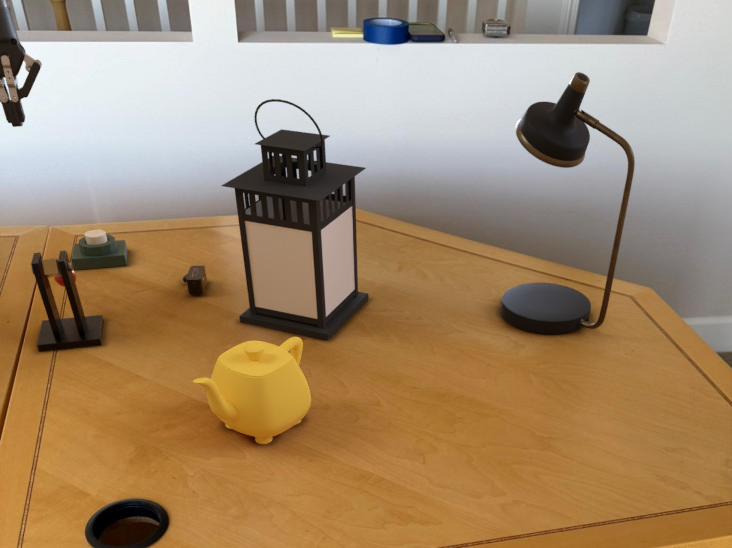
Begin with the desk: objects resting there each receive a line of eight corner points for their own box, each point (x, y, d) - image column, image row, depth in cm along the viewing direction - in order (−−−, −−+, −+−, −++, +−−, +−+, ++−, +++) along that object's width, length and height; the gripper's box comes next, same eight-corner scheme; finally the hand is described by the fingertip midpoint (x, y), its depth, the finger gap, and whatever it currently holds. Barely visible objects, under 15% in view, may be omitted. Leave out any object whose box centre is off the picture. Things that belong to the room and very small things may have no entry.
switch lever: (58, 289, 136) (54, 267, 135) (79, 287, 136) (75, 266, 136) (40, 279, 123) (35, 255, 122) (64, 277, 124) (59, 253, 123)
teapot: (176, 439, 110) (159, 362, 102) (274, 381, 122) (265, 308, 114) (243, 474, 104) (230, 395, 96) (338, 410, 116) (335, 335, 108)
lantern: (368, 299, 144) (364, 87, 121) (328, 340, 132) (315, 114, 109) (286, 283, 149) (267, 77, 125) (240, 322, 137) (209, 101, 113)
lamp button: (86, 246, 152) (83, 237, 151) (87, 239, 155) (84, 230, 154) (107, 245, 153) (105, 236, 151) (107, 237, 155) (105, 228, 154)
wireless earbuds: (208, 280, 150) (205, 263, 147) (203, 296, 144) (200, 279, 142) (184, 280, 149) (181, 263, 147) (178, 296, 144) (175, 279, 142)
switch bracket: (44, 326, 135) (19, 248, 126) (103, 321, 137) (83, 243, 127) (39, 351, 128) (12, 271, 119) (101, 345, 130) (79, 265, 121)
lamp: (533, 284, 150) (564, 55, 124) (627, 324, 138) (683, 79, 112) (477, 309, 141) (497, 69, 116) (572, 353, 130) (618, 97, 104)
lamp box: (74, 270, 152) (68, 250, 150) (77, 254, 158) (71, 234, 155) (126, 265, 154) (122, 246, 151) (127, 250, 160) (123, 230, 157)
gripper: (-69, 8, 116) (-27, 133, 128) (25, 6, 119) (57, 129, 130) (-59, 0, 122) (-20, 121, 133) (30, -2, 124) (60, 117, 136)
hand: (18, 125), depth 132 cm, fingers closed
